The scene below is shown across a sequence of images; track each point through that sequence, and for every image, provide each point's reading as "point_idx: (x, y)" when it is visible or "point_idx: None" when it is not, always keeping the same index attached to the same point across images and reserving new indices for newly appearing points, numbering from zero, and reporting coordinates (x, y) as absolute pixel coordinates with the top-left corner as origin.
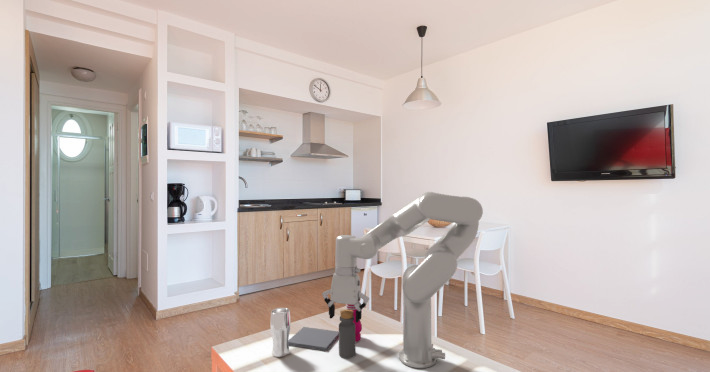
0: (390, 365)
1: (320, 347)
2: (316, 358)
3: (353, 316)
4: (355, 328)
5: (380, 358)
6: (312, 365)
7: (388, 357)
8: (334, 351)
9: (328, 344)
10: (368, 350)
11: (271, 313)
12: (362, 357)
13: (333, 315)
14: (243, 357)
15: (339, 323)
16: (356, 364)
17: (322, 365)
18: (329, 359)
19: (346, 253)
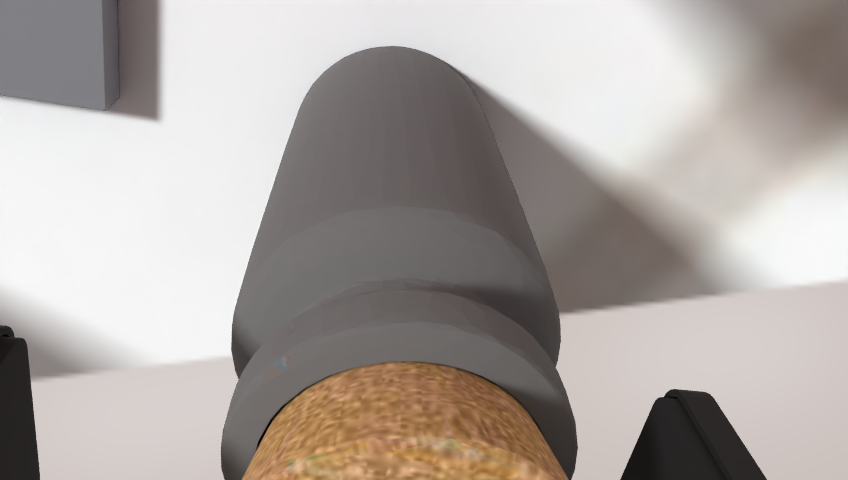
0: (825, 281)
1: (21, 94)
2: (84, 260)
3: (563, 432)
4: None
5: (755, 176)
6: (108, 370)
7: (845, 146)
8: (222, 91)
9: (94, 18)
10: (638, 13)
11: None
12: (565, 181)
13: (20, 422)
14: None
15: (238, 357)
16: None
17: (200, 359)
18: (227, 260)
19: None
